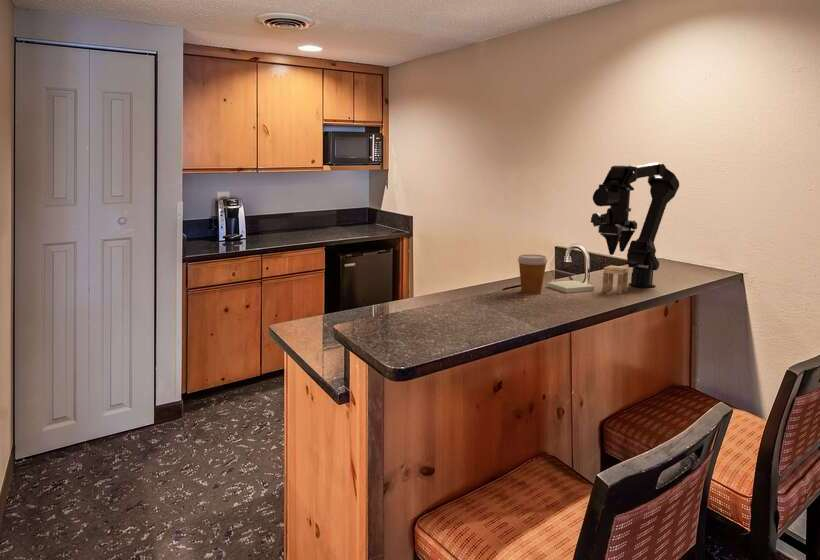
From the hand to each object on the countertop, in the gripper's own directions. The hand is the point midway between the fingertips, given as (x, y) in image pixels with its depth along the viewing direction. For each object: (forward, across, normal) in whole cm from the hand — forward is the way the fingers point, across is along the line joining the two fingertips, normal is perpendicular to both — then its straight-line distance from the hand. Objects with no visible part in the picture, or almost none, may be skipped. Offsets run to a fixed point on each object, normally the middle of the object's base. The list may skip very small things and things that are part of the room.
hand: (616, 253), depth 186 cm
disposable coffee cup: (+13, +20, -20) cm, 31 cm away
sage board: (+13, +5, -13) cm, 19 cm away
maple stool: (+13, 0, 0) cm, 13 cm away
